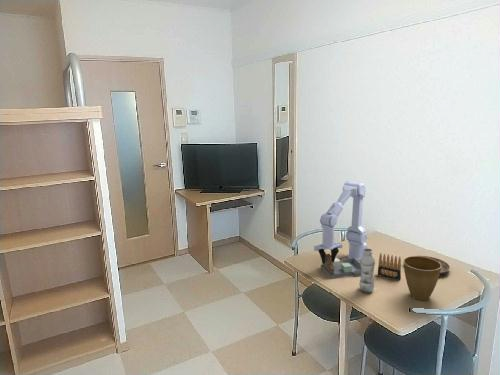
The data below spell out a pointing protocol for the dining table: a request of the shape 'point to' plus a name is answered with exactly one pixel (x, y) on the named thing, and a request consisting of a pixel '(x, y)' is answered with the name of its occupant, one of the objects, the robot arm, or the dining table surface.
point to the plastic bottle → (367, 271)
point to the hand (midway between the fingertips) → (328, 262)
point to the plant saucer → (444, 267)
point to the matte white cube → (336, 262)
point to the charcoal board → (336, 272)
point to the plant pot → (421, 276)
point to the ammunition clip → (389, 267)
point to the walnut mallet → (328, 263)
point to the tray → (354, 265)
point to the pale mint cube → (346, 267)
